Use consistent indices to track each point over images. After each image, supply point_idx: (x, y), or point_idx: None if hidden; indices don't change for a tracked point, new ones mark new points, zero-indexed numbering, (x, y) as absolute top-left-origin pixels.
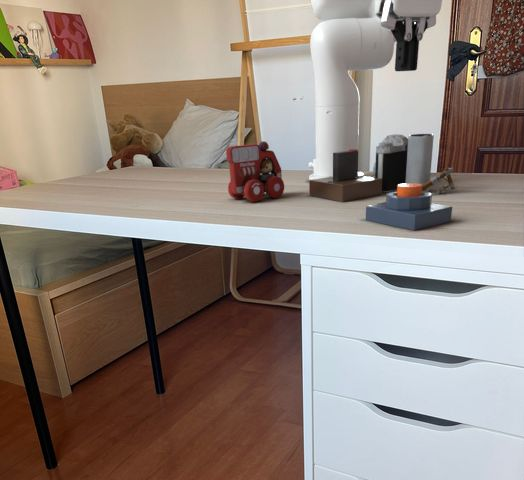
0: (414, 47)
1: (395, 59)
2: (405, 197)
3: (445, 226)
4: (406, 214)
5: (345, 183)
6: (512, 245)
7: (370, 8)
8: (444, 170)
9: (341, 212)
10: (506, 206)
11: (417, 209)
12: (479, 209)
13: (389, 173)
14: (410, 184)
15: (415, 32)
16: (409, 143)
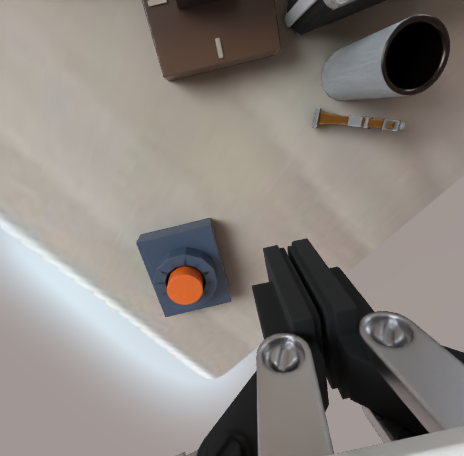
0: (325, 369)
1: (272, 269)
2: (168, 299)
3: None
4: (161, 305)
5: (178, 58)
6: (214, 377)
7: None
8: (387, 122)
9: (129, 167)
10: (344, 258)
11: None
12: None
13: (316, 23)
14: (188, 287)
15: (389, 414)
16: (371, 54)
